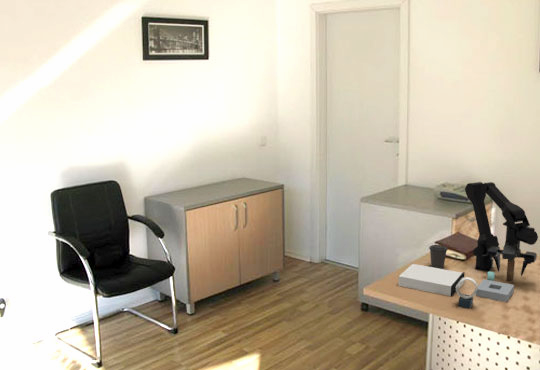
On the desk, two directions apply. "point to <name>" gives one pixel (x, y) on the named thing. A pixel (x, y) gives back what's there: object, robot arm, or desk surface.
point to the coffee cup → (438, 256)
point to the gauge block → (495, 290)
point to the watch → (464, 299)
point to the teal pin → (490, 276)
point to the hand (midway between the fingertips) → (510, 273)
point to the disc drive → (430, 279)
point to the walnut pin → (510, 270)
